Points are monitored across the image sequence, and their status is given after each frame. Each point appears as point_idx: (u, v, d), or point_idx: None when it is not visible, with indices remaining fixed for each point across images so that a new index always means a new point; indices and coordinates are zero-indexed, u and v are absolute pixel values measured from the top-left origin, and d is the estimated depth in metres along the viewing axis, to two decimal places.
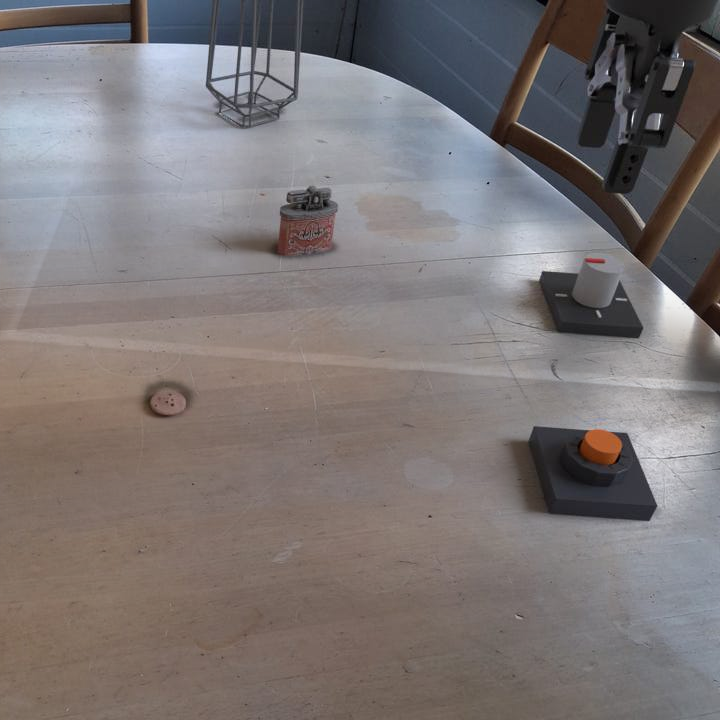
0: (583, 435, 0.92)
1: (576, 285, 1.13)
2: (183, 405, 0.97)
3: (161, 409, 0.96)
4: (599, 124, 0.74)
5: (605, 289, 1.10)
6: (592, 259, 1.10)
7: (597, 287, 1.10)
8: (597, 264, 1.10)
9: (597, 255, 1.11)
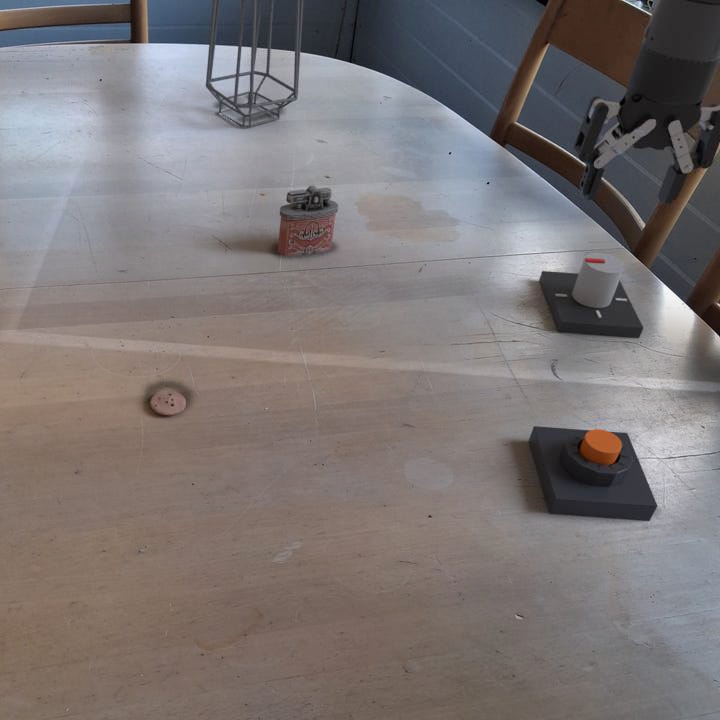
0: (583, 435, 0.92)
1: (576, 285, 1.13)
2: (183, 405, 0.97)
3: (161, 409, 0.96)
4: (667, 185, 0.98)
5: (605, 289, 1.10)
6: (592, 259, 1.10)
7: (597, 287, 1.10)
8: (597, 264, 1.10)
9: (597, 255, 1.11)
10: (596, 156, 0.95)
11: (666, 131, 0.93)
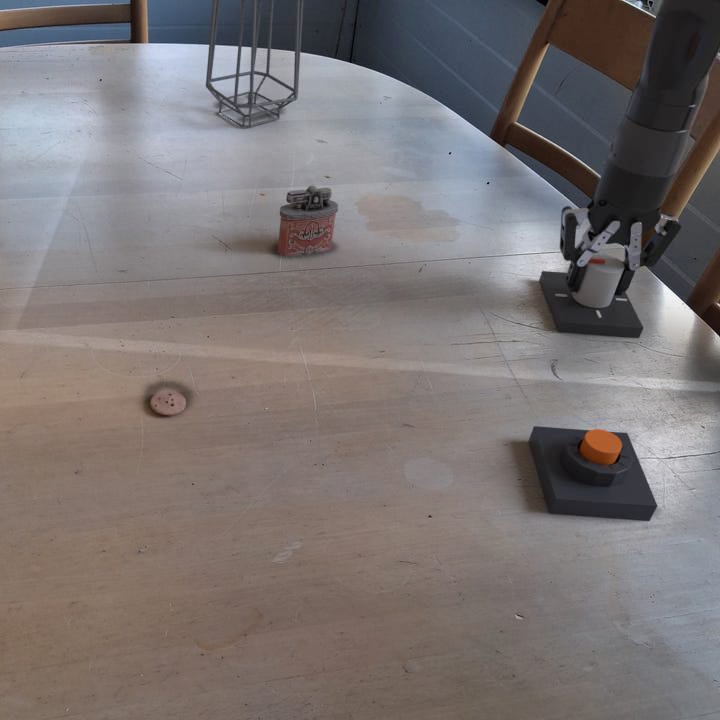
0: (583, 435, 0.92)
1: None
2: (183, 405, 0.97)
3: (161, 409, 0.96)
4: None
5: (605, 289, 1.10)
6: (592, 259, 1.10)
7: (597, 287, 1.10)
8: (597, 264, 1.10)
9: (597, 255, 1.11)
10: (577, 257, 1.09)
11: (628, 229, 1.06)
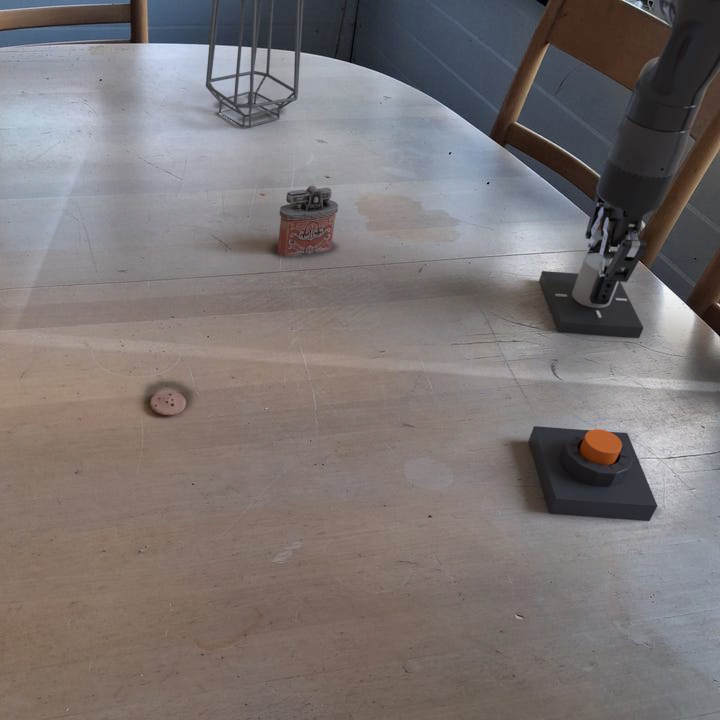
0: (583, 435, 0.92)
1: None
2: (183, 405, 0.97)
3: (161, 409, 0.96)
4: None
5: None
6: None
7: (618, 282, 1.11)
8: None
9: (592, 263, 1.10)
10: None
11: None
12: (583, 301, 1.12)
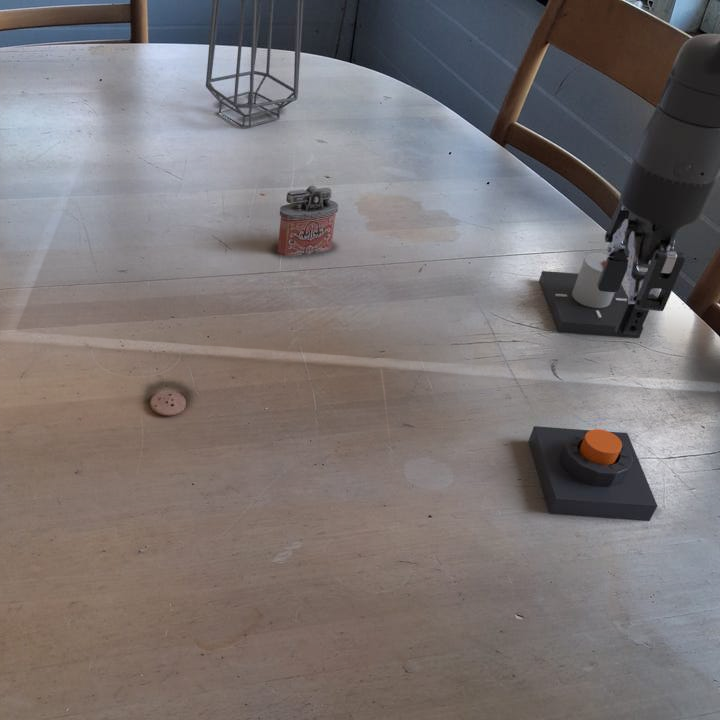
0: (583, 435, 0.92)
1: (601, 296, 1.11)
2: (183, 405, 0.97)
3: (161, 409, 0.96)
4: (615, 276, 0.96)
5: None
6: None
7: None
8: None
9: (592, 263, 1.10)
10: None
11: None
12: (583, 301, 1.12)
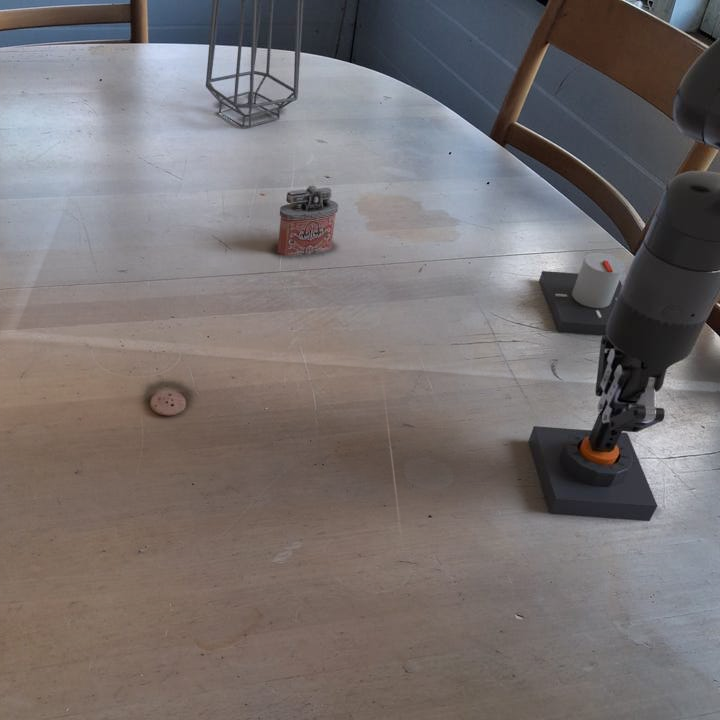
0: (583, 435, 0.92)
1: (601, 296, 1.11)
2: (183, 405, 0.97)
3: (161, 409, 0.96)
4: None
5: None
6: (608, 267, 1.09)
7: (618, 282, 1.11)
8: (612, 267, 1.10)
9: (592, 263, 1.10)
10: None
11: None
12: (583, 301, 1.12)
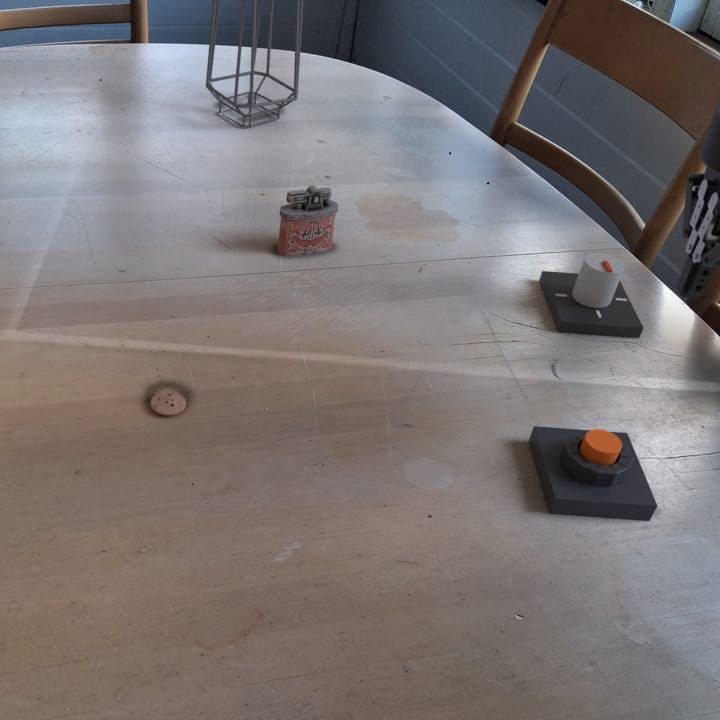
0: (583, 435, 0.92)
1: (601, 296, 1.11)
2: (183, 405, 0.97)
3: (161, 409, 0.96)
4: None
5: None
6: (608, 267, 1.09)
7: (618, 282, 1.11)
8: (612, 267, 1.10)
9: (592, 263, 1.10)
10: None
11: None
12: (583, 301, 1.12)
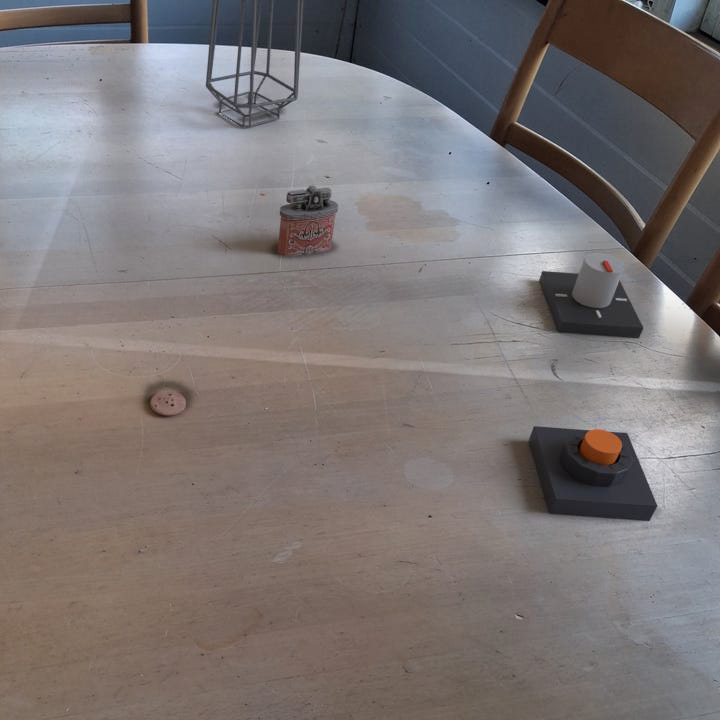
0: (583, 435, 0.92)
1: (601, 296, 1.11)
2: (183, 405, 0.97)
3: (161, 409, 0.96)
4: None
5: None
6: (608, 267, 1.09)
7: (618, 282, 1.11)
8: (612, 267, 1.10)
9: (592, 263, 1.10)
10: None
11: None
12: (583, 301, 1.12)
